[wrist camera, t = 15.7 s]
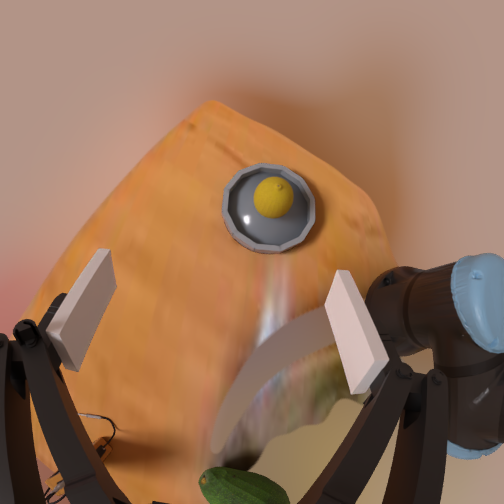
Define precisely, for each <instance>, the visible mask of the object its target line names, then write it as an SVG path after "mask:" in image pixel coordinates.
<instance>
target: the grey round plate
mask: <svg viewBox="0 0 504 504" xmlns="http://www.w3.org/2000/svg"><path fill="white" fill-rule="evenodd" d="M269 177H280V178H283V179H285V180H286V181H287V182H288V183H289V184H290V185H291V187H292V190H293V195H294V196H293V203H292V206H291V208H290V209H289V211H288V212H287V213H286V214H285V215H283V216H281V217H279V218H275V219H271V218H267V217H264V216H262V215H261V214H260V213H259V212H258V211H257V209H256V208H255V205H254V193H255V190H256V188H257V186H258V185H259V184H260V183H261V182H262V181H263V180H264V179H266V178H269ZM222 217H223V219H224V223H225V225H226V228H227V229H228V231H229V233H230V234H231V236H232V237H233V238H234V239H235V240H236V241H237V242H238V243H239V244H241V245H242V246H243V247H245V248H247V249H249V250H251V251H254V252H257V253H262V254H278V253H281V252H284V251H287V250H289V249H291V248H293V247H294V246H296V245H298V244H300V243H301V242H302V241H303V240H304V239H305V237H306V235H307V234H308V232H309V231H310V229H311V227H312V226H313V224H314V223H315V198H314V196H313V194H312V193H311V191H310V189H309V187H308V186H307V184H306V182H305V181H304V179H303V178H302V177H300V176H299V175H297V174H296V173H294V172H293V171H291V170H289V169H288V168H286V167H285V166H284V167H283V166H282V165H274V164H267V163H261V164H260V163H258V164H255V165H253V166H250V167H247V168H244V169H242V170H239V171H238V172H237V173H236V174H235V176H234V177H233V178H232V179H231V181H230V182H229V183H228V184H227V185H226V187H225V189H224V195H223V204H222Z"/></svg>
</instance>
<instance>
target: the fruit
mask: <svg viewBox="0 0 504 504" xmlns="http://www.w3.org/2000/svg"><path fill="white" fill-rule="evenodd" d="M198 483H199V485H200V488H201V491H202V493H203V495H204V497H205V498H206V499H207V501H208V502H209V503H210V504H290V501H289V498H288V496H287V494H286V491H285V490H284V489H283V488H282V487H281V486H279V485H278V484H276V483H275V482H273V481H272V480H270V479H269V478H267V477H265V476H262V475H259V474H257V473H253V472H247V471H242V470H237V469H232V468H227V467H214V468H211V469H208V470H206V471H205V472H203V474H202V475H201V477H200V479H199V482H198Z"/></svg>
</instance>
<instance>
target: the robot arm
mask: <svg viewBox="0 0 504 504" xmlns="http://www.w3.org/2000/svg"><path fill="white" fill-rule="evenodd" d="M116 287H117V285H116V280H115V275H114V269H113V264H112V258H111V251H110V249H101V248H99V249H98V250H97V252H96V253H95V254H94V256H93V257H92V259H91V260H90V261H89V263H88V264H87V266H86V267H85V269H84V270H83V272H82V273H81V274H80V276H79V277H78V279H77V280H76V282H75V283H74V285H73V287H72V288H71V290H70V291H69V293H68V294H66V293H61V294H60V295H59V296H57V297H56V298H55V299H54V301H53V302H52V304H51V305H50V307H49V308H48V310H47V312H46V313H45V315H44V316H43V318H42V320H41V321H40V323H39V325H38V326H36V324H35V322H34V321H33V320H30V319H25V320H22V321H20V322H18V323H17V324H16V325H15V327H14V329H13V335H14V337H15V338H16V340H13V341H9V339H8V337H7V336H6V335H5V334H2V333H0V504H46V501H45V497H44V493H43V489H42V485H41V480H40V476H39V471H38V466H37V461H36V454H35V448H34V440H33V432H32V422H31V410H30V393H31V397H32V401H33V404H34V407H35V411H36V414H37V417H38V420H39V423H40V426H41V428H42V431H43V434H44V437H45V439H46V442H47V444H48V447H49V449H50V452H51V454H52V457H53V459H54V461H55V463H56V466H57V468H58V470H59V472H60V474H61V476H62V478H63V480H64V483H65V486H64V492H65V494H66V496H67V498H68V500H69V502H70V503H71V504H131V502H130V501H129V500H128V498H127V497H126V496H125V494H124V493H123V492H122V491H121V490H120V489H119V488H118V486H117V485H116V483H115V482H114V480H113V479H112V477H111V476H110V474H109V472H108V471H107V469H106V467H105V466H104V464H103V462H102V460H101V459H100V457H99V455H98V453H97V451H96V450H95V448H94V446H93V444H92V442H91V440H90V438H89V436H88V434H87V432H86V430H85V428H84V426H83V424H82V422H81V419H80V417H79V415H78V413H77V410H76V408H75V406H74V403H73V401H72V399H71V396H70V394H69V391H68V389H67V386H66V383H65V381H64V378H63V375H62V372H61V370H60V368H59V367H60V364H61V362H62V363H63V365H64V367H65V368H66V369H69V370H72V371H76V372H79V369H80V367H81V364H82V362H83V359H84V357H85V354H86V352H87V350H88V347H89V345H90V343H91V340H92V338H93V336H94V334H95V331H96V329H97V327H98V325H99V323H100V320H101V318H102V316H103V314H104V312H105V310H106V308H107V306H108V304H109V302H110V299H111V297H112V295H113V293H114V291H115V289H116ZM325 308H326V311H327V314H328V317H329V320H330V324H331V327H332V330H333V333H334V337H335V340H336V343H337V347H338V350H339V353H340V357H341V360H342V364H343V367H344V371H345V374H346V378H347V381H348V385H349V388H350V392H351V394H360V393H365V392H366V391H367V389H368V388H369V387H370V389H371V392H372V393H371V394H370V395H369V397H368V398H367V399H366V400H365V401H364V403H363V404H365V405H364V406H363V408H362V410H361V412H360V414H359V415H358V417H357V419H356V421H355V422H354V424H353V426H352V427H351V429H350V431H349V432H348V434H347V436H346V437H345V439H344V440H343V442H342V443H341V445H340V447H339V448H338V450H337V451H336V453H335V454H334V456H333V457H332V459H331V460H330V462H329V463H328V465H327V466H326V467H325V469H324V470H323V472H322V473H321V475H320V476H319V477H318V478H317V480H316V481H315V482H314V484H313V485H312V486H311V488H310V489H309V490H308V492H307V493H306V494H305V495H304V497H303V498H302V499H301V500H300V501H299V502H298V503H297V504H355V503H356V501H357V499H358V497H359V496H360V494H361V493H362V491H363V489H364V488H365V486H366V484H367V483H368V481H369V479H370V477H371V475H372V474H373V472H374V470H375V468H376V466H377V464H378V463H379V460H380V459H381V457H382V455H383V453H384V451H385V449H386V447H387V444H388V442H389V440H390V438H391V436H392V434H393V431H394V429H395V427H396V425H397V422H398V420H399V418H400V423H399V429H398V435H397V441H396V447H395V452H394V457H393V462H392V467H391V471H390V476H389V479H388V484H387V487H386V491H385V495H384V499H383V502H382V504H440V500H441V494H442V488H443V482H444V474H445V465H446V455H447V454H448V455H450V456H452V457H455V458H459V459H466V460H467V459H468V460H469V459H478V458H480V457H481V456H482V455H485V456H487V455H489V454H492V453H493V452H495V451H496V450H497V449H498V448H499V447H500V446H501V445H502V444H503V443H504V259H503V258H502V257H500V256H498V255H496V254H492V253H484V254H479V255H476V256H465V257H463V258H461V259H459V260H458V261H457V262H453V263H450V264H446V265H443V266H439V267H435V268H432V269H429V270H421V269H417V268H413V267H408V266H407V267H406V266H403V267H397V268H393V269H390V270H388V271H385V272H384V273H382V274H381V275H380V276H378V277H377V278H376V280H375V281H374V282H373V283H372V285H371V287H370V288H369V291H368V293H367V296H366V299H365V303H364V301H363V299H362V297H361V295H360V293H359V290H358V288H357V286H356V284H355V282H354V280H353V278H352V276H351V274H350V272H349V271H347V270H337V271H336V274H335V277H334V280H333V283H332V286H331V289H330V291H329V294H328V297H327V300H326V302H325ZM427 348H431V349H432V351H433V360H434V369H432V370H430V371H429V372H428V373H427V374H421V373H415V372H413V370H412V368H411V367H410V366H409V365H407V364H406V363H403V362H401V359H400V357H399V356H409V355H412V354H415V353H417V352H420V351H422V350H424V349H427ZM152 504H168V503H162V502H156V501H152Z"/></svg>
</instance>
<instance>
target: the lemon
mask: <svg viewBox="0 0 504 504" xmlns="http://www.w3.org/2000/svg"><path fill="white" fill-rule="evenodd" d="M293 196H294V195H293V190H292V187H291V185H290V184H289V183H288V182H287V181H286V180H285V179H283V178H280V177H269V178H266V179H264V180H263V181H262V182H261V183H260V184H259V185H258V186H257V188H256V190H255V193H254V205H255V208H256V209H257V211H258V212H259V213H260V214H261V215H262V216H264V217H267V218H271V219H275V218H279V217H281V216H283V215H285V214H286V213H287V212H288V211H289V209H290V208H291V206H292V203H293Z"/></svg>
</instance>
